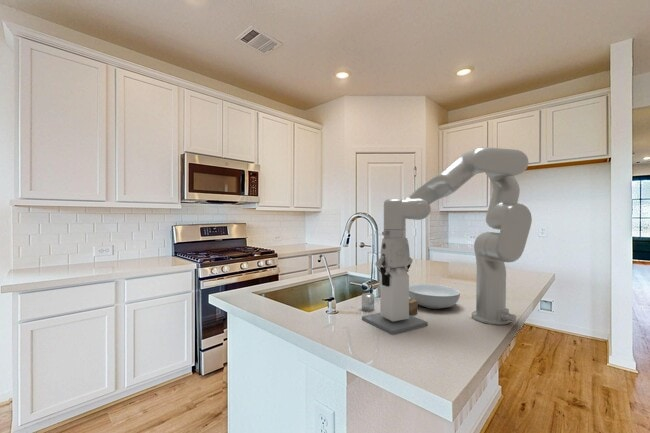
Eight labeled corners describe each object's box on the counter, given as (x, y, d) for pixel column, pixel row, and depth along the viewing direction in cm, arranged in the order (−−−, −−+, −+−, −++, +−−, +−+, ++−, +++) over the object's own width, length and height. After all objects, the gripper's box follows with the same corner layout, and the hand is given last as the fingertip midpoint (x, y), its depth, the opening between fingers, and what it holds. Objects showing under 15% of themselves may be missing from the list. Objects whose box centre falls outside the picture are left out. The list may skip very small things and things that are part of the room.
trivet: (427, 325, 108) (427, 322, 108) (392, 334, 100) (392, 330, 100) (395, 312, 122) (395, 309, 122) (362, 319, 114) (362, 316, 114)
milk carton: (380, 315, 112) (380, 263, 112) (396, 313, 115) (396, 261, 115) (392, 322, 106) (392, 266, 106) (409, 319, 109) (409, 264, 109)
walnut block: (417, 313, 121) (417, 300, 121) (410, 316, 118) (410, 303, 117) (405, 310, 125) (406, 297, 125) (399, 313, 121) (399, 300, 121)
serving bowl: (465, 315, 119) (465, 297, 118) (408, 311, 123) (408, 294, 123) (454, 300, 139) (454, 284, 139) (405, 297, 143) (405, 282, 143)
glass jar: (376, 310, 124) (377, 295, 124) (366, 312, 122) (366, 297, 122) (369, 307, 128) (369, 292, 128) (359, 309, 126) (359, 294, 126)
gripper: (382, 236, 103) (382, 289, 103) (420, 233, 111) (420, 283, 112) (368, 234, 109) (368, 285, 109) (405, 232, 118) (405, 279, 118)
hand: (394, 283), depth 110 cm, fingers closed on milk carton, 7 cm apart
